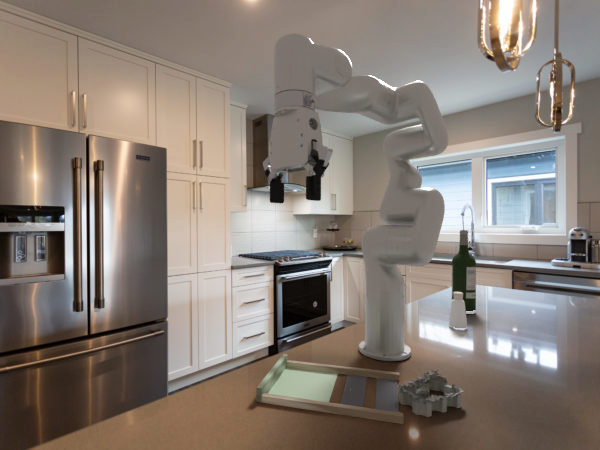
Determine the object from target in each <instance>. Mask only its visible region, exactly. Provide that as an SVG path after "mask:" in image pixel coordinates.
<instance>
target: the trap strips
mask: <svg viewBox="0 0 600 450" xmlns="http://www.w3.org/2000/svg"><path fill="white" fill-rule="evenodd" d="M367 378H368V377H365V376H356V375H347V374H346V380H345V384H344V388H343V392H342V395H341V399H340V403H339V404H343V405H350V406H357V407H364V403H365V394H366V389H367V388H366V386H367ZM396 386H398V381H397V380H390V379H381V378H376V385H375V402H374V409H378V410H385V411H392V412H399V413H400V405H399V403H400V402H399V390H397V387H396ZM350 389H351V390H350ZM344 390H345V391H344Z"/></svg>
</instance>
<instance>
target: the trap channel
mask: <svg viewBox="0 0 600 450" xmlns="http://www.w3.org/2000/svg"><path fill="white" fill-rule="evenodd" d="M288 355H289V354H287V353H283V354H282V355H281V357H280V358H279V359H278V360H277V361H276V363H275V364H274V365H273V367H271V369H270V370H269V371H268V373H267V374H266V375H265V376H264V377H263V379H262V380H261V381H260V383H259V384H258V385H257V387H256V388H255V389H256V390H255V391H256V400H255V401H256V403H261V404H262V403H263V404H270V405H275V406H280V407H281V406H282V407H289V408H293V409H294V408H296V409H299V410H301V409H302V410H307V411H315V412H321V413H326V414H327V413H329V414H332V415H333V414H335V415H341V416H347V417H354V418H360V419H366V420H367V419H368V420H374V421H379V422H380V421H381V422H388V423H393V424H401V425H404V412H400V411H399V412H392V411H385V410H378V409H375V408H369V407H364V406H363V407H357V406H350V405H343V404H340V403H335V402H330V401H329V402H323V401H316V400H309V399H302V398H295V397H288V396H281V395H274V394H268V393H269V391H270V390H271V388H272V387H273V386H274V384H275V383H276V381H277V380H278V379H279V377H280V376H281V374H282V373H283V371H284V370H285V369H286V367H290V368H298V369H306V370H315V371H323V372H331V373H338V375H346V376H347V375H356V376H365V377H367V378H371V379H372V378H373V379H374V378H375V379H377V378H381V379H390V380H397V382H398V381H400V377H401V375H400V372H395V371H387V370H380V369H371V368H370V369H369V368H360V367H352V366H351V367H350V366H344V365H343V366H342V365H335V364H326V363H319V362H318V363H317V362H308V361H301V360H300V361H299V360H290V359H289V356H288Z"/></svg>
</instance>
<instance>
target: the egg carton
mask: <svg viewBox="0 0 600 450" xmlns="http://www.w3.org/2000/svg"><path fill="white" fill-rule="evenodd" d="M396 387H397V390H398V402H399V403H400V404H401V405H402V406H404V405H406V406H410V407H412V413H413V414H415V415H416V416H418V415H419V416H424V417H426V418H429V417H432V413H433V411H436V412H441V413H442V414H443V413H446V412H447V411H448V410H447V409H448V407H453V408H456V409H459V408H462V395H461V394H462V393H466V391H465V390H464V389H462V387H457V386H456V385H455V383H452V384H451V385H449V383H448V381H447V378H446V376H444V375H443V374H441V373H440V372H439V370H438V369H433V370H430V371H427V372H425V373H424V374H423V376H417V377H416V378H415V379H413V380H407V381H405V382H403V384H400V385H397V386H396ZM430 391H436V392H443V395H437V394H431V395H430Z"/></svg>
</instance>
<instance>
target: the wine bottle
mask: <svg viewBox="0 0 600 450" xmlns="http://www.w3.org/2000/svg"><path fill="white" fill-rule="evenodd" d="M468 234H469V231H468V230H467V229H465V230H461V229H460V230H459V250H458V253H456V254H455V255H454V256H453V257H452V260H451V301H452V300H453V299H454V296H453V295H454V294H453V292H462V293H463V300H464V302H465V310H466V311H473V310H476V309H477V307H476V305H477V302H476V301H477V300H476V299H477V297H476V295H477V261H476V259H475V257H474V256H473V255H472V254H471V253H470V251H469V237H468V236H469V235H468ZM476 311H477V310H476Z"/></svg>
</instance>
